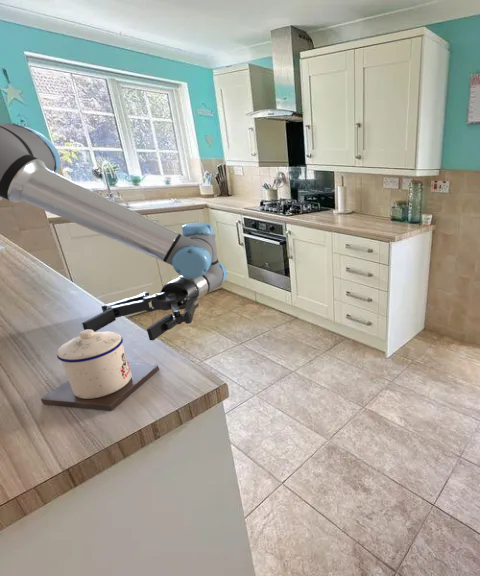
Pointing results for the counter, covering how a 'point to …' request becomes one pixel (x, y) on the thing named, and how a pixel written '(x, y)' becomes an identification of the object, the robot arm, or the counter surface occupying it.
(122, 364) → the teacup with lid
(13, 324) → the counter surface
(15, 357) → the counter surface
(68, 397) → the serving board
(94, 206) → the robot arm
